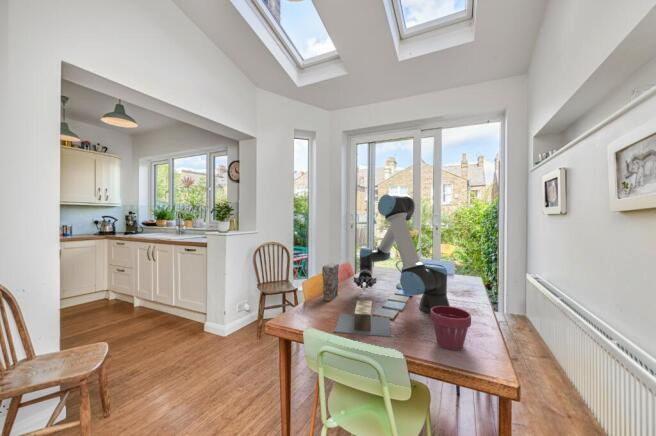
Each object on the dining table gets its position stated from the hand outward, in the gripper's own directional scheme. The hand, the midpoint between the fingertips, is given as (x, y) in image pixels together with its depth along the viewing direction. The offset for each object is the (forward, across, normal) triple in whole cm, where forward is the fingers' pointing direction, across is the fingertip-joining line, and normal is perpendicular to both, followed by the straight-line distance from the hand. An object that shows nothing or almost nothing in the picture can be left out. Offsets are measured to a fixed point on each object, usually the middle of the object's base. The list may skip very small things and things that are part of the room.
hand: (364, 288), depth 133 cm
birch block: (+2, 0, -9) cm, 9 cm away
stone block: (-23, +20, -14) cm, 34 cm away
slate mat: (+12, 0, -13) cm, 18 cm away
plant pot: (+25, -34, -13) cm, 44 cm away
